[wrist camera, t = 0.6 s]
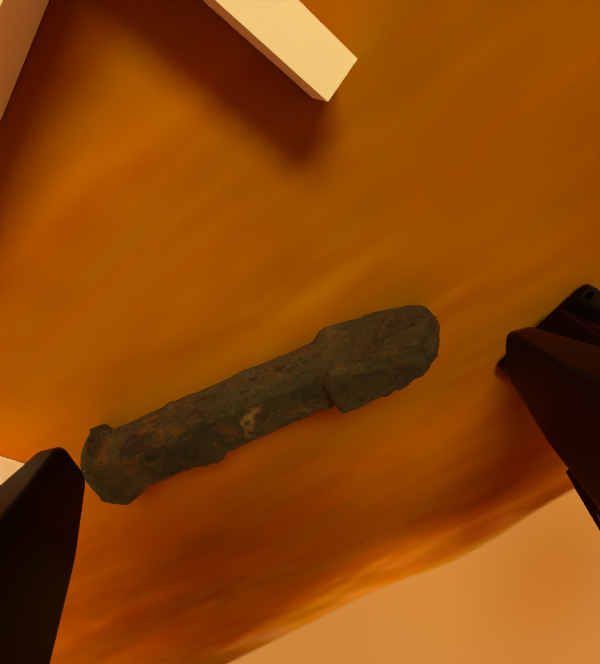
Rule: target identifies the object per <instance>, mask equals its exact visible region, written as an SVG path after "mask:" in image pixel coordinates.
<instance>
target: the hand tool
mask: <svg viewBox="0 0 600 664" xmlns="http://www.w3.org/2000/svg"><path fill="white" fill-rule="evenodd" d="M439 330H440V326H439V323H438V321H437V319H436V317H435V316H434V315H433V314H432V313H431V312H430V311H429V310H428V309H427V308H426V307H423V306H419V305H418V306H405V307H399V308H395V309H390V310H385V311H379V312H374V313H372V314H368V315H364V316H363V317H361V318H358V319H355V320H350V321H347V322H343V323H339V324H336V325H332V326H329V327H326V328H324V329H322V330H320V331H319V332H318V335H317V338H316V339H315V340H314V341H313V342H311V343H310V344H308V345H305V346H303V347H301V348H299V349H297V350H295V351H293V352H290V353H288V354H286V355H283V356H280V357H277V358H275V359H273V360H271V361H268V362H266V363H263V364H261V365H258V366H255V367H252V368H249V369H245V370H243V371H241V372H239V373H237V374H235V375H234V376H232V377H231V378H229V379H227V380H225V381H223V382H220V383H218V384H216V385H213V386H211V387H209V388H206V389H204V390H202V391H199V392H197V393H194V394H190V395H188V396H185V397H183V398H182V399H180V400H176V401H173V402H170V403H168V404H167V405H165V406H164V407H163V408H161V409H159V410H156V411H154V412H151V413H149V414H147V415H145V416H143V417H141V418H139V419H137V420H135V421H133V422H130V423H128V424H126V425H124V426H121V427H118V428H116V429H112V428H110V427H109V426H108V425H105V424H102V425H100V426H97V427H94V428H92V429H90V435H89V436H88V438H87V440H86V442H85V445H84V448H83V450H82V453H81V464H80V466H81V471H82V473H83V475H84V479H85V480H86V482H87V483H88V484H89V485H90V487H91V488H92V489H93V490H94V491H95V492H96V493H97V494H98V495H99V496H100V499H101V501H103V502H107V503H112V504H120V505H128V504H130V503H131V502H132V501H133V500H134V499H136V498H137V497H138V496H140V495H141V494H142V493H143V491H144V490H145V489H146V488H148V487H149V486H150V485H152V484H154V483H157V482H159V481H162V480H164V479H167V478H169V477H171V476H173V475H175V474H177V473H180V472H182V471H184V470H189V469H190V468H192V467H200V466H207V465H209V464H211V463H219V462H220V461H221V460H222V459H223V458H224V457H225V455H226V453H227V452H228V451H231V450H234V449H236V448H238V447H239V446H241V445H244V444H246V443H248V442H251V441H253V440H255V439H257V438H259V437H262V436H264V435H267V434H269V433H271V432H273V431H276V430H277V429H280V428H282V427H284V426H287V425H289V424H291V423H293V422H295V421H297V420H300V419H302V418H304V417H307V416H310V415H311V414H313V413H315V412H317V411H319V410H324V409H330V408H331V407H332V406H333V405H335V406H336V407H337V408H338V409H339V410H340V411H341V412H342V413H347V412H349V411H351V410H354V409H357V408H360V407H362V406H364V405H366V404H367V403H369V402H370V401H373V400H375V399H378V398H380V397H387V396H389V395H390V394H392V393H393V392H394V390H401V389H403V388H405V387H406V386H408V385H409V384H410V382H412V381H413V380H414V379H416V378H419V377H422V376H423V375H424V374H425V373H426V371H427V370H428V369H429V368H430V365H431V363H432V362H433V361H434V360H435V359H436V357H437V356H438V353H437V351H438V348H439Z"/></svg>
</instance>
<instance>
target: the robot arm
mask: <svg viewBox="0 0 600 664" xmlns="http://www.w3.org/2000/svg"><path fill="white" fill-rule="evenodd" d="M587 293H588V294H587ZM586 294H587V295H586ZM585 295H586V296H585ZM499 368H500V369H501V370H502V371H503V372H504V373H505V374H506V375H508V377H509V379H510V380H511V382H512V384H513V385H514V387H515V389H516V390H517V392H518V394H519V395H520V397H521V399H522V400H523V402H524V403H525V405H526V407H527V408H528V410H529V412H530V413H531V415H532V417H533V418H534V420H535V422H536V423H537V425H538V427H539V428H540V430H541V431H542V433H543V435H544V436H545V438H546V439H547V441H548V442H549V443H550V445H551V446H552V448H553V449H554V450H555V452H556V453H557V454H558V456H559V457H560V458H561V459H562V461H563V462H564V463H565V465H566V466H567V467H568V470H567V471H566V473H567V475H568V476H569V478H570V480H571V482H572V483H573V485H574V487H575V489H576V491H577V493H578V494H579V496H580V498H581V499H582V501H583V503H584V505H585V506H586V508H587V510H588V511H589V513H590V515H591V516H592V518H593V520H594V521H595V523H596V525H597V526H598V528H599V530H600V291H599V290H598V289H597V288H595V287H593V286H592V285H590V284H586V285H583V286H582V287H580V288H579V289H578V290H577V291H576V292H575V293H573V294H572V295H571V296H570V297H569V298H568V299H567V300H566V301H565V302H564V303H563V304H562V305H561V306H559V307H558V308H557V309H556V310H555V311H554V312H553V313H552V314H551V315H550V316H549V317H548V318H546V319H545V320H544V321H543V322H542V323H541V324H540V325H539V326H538V327H537V328H532V327H526V328H522V329H518V330H515V331H511V332H510V333H509V334H508V335H507V339H506V356H505V357H504V358H503V359H502V360H501V362H500V364H499ZM84 489H85V479H84V475H83V473H82V471H81V470H80V469H79V467H78V466H77V465H76V463H75V462H74V461H73V459H72V458H71V457H70V455H69V454H68V453H67V451H66V450H65V449H63V448H61V447H56V448H52V449H48V450H44V451H41V452H39V453H37V454H36V455H34V456H33V457H32V458H31V459H30V460H29V461H28V462H26V463H25V464H24V465H23V466H22V467H21V468H20V469H18V470H17V471H16V472H15V473H14V474H13V475H12V476H10V477H9V478H8V479H7V480H6V481H5V482H4V483H2V484H1V485H0V664H50V661H51V656H52V652H53V648H54V644H55V640H56V636H57V632H58V627H59V623H60V619H61V615H62V611H63V607H64V603H65V599H66V594H67V590H68V586H69V582H70V578H71V574H72V569H73V564H74V560H75V554H76V548H77V541H78V533H79V526H80V518H81V511H82V504H83V496H84Z"/></svg>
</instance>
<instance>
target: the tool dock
mask: <svg viewBox="0 0 600 664" xmlns="http://www.w3.org/2000/svg"><path fill="white" fill-rule="evenodd" d="M203 1H204V2H205V3H206V4H207V5H208V6H209V7H211V8H212V9H213V10H214V11H215V12H216V13H217V14H218V15H220V16H221V17H222V18H223V19H224V20H225V21H226V22H227V23H229V24H230V25H231V26H232V27H233V28H234V29H235V30H236V31H238V32H239V33H240V34H241V35H242V36H243V37H244V38H245V39H247V40H248V41H249V42H250V43H251V44H252V45H253V46H254V47H256V48H257V49H258V50H259V51H260V52H261V53H262V54H263V55H265V56H266V57H267V58H268V59H269V60H270V61H271V62H272V63H274V64H275V65H276V66H277V67H278V68H279V69H280V70H281V71H283V72H284V73H285V74H286V75H287V76H288V77H289V78H290V79H292V80H293V81H294V82H295V83H296V84H297V85H298V86H299V87H301V88H302V89H303V90H304V91H305V92H306V93H307V94H308V95H310V96H311V97H312V98H314V99H318V100H323V101H327V102H328V101H329V100H330V98H331V97H332V95H333V94H334V92H335V91H336V89H337V88H338V86H339V85H340V84H341V82H342V81H343V79H344V78H345V76H346V75H347V73H348V72H349V70H350V69H351V67H352V66H353V65H354V63H355V62H356V60H357V58H356V57H355V56H354V55H353V54H352V53H351V52H350V51H349V50H348V49H347V48H346V47H345V46H344V45H343V44H342V43H341V42H340V41H339V40H338V39H337V38H336V37H335V36H334V35H333V34H332V33H331V32H330V31H329V30H328V29H327V28H326V27H325V26H324V25H323V24H322V23H321V22H320V21H319V20H318V19H317V18H316V17H315V16H314V15H313V14H312V13H311V12H310V11H309V10H308V9H307V8H306V7H305V6H304V5H303V4H302V3H301V2H300V1H299V0H203ZM48 2H49V0H0V121H1V118H2V116H3V114H4V111H5V109H6V106H7V104H8V101H9V99H10V96H11V94H12V91H13V89H14V86H15V84H16V81H17V79H18V76H19V74H20V71H21V69H22V66H23V64H24V61H25V59H26V56H27V54H28V51H29V49H30V47H31V44H32V42H33V39H34V37H35V34H36V32H37V29H38V27H39V24H40V22H41V19H42V17H43V14H44V12H45V9H46V7H47V4H48ZM23 465H24V463H21V462H18V461H15V460H11V459H8V458H5V457H2V456H0V485H1V484H2V483H4V482H5V481H6V480H7V479H8V478H9V477H10V476H12V475H13V474H14V473H15V472H16V471H17V470H18V469H20V468H21V467H22V466H23Z"/></svg>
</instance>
